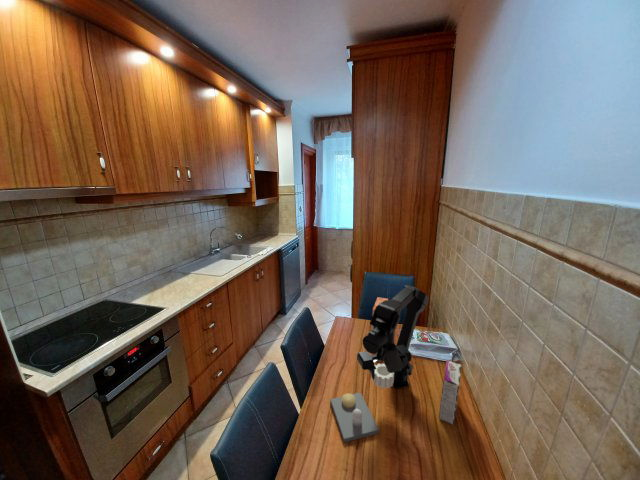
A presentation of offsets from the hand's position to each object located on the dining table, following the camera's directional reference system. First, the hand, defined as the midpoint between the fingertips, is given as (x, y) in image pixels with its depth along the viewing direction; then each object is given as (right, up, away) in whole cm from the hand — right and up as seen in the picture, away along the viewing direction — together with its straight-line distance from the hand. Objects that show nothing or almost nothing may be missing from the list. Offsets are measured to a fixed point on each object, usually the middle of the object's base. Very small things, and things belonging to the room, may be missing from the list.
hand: (382, 376), depth 89 cm
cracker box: (+8, -3, +39) cm, 40 cm away
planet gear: (0, -1, 0) cm, 2 cm away
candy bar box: (+23, -12, 0) cm, 26 cm away
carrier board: (-11, -13, -3) cm, 17 cm away
